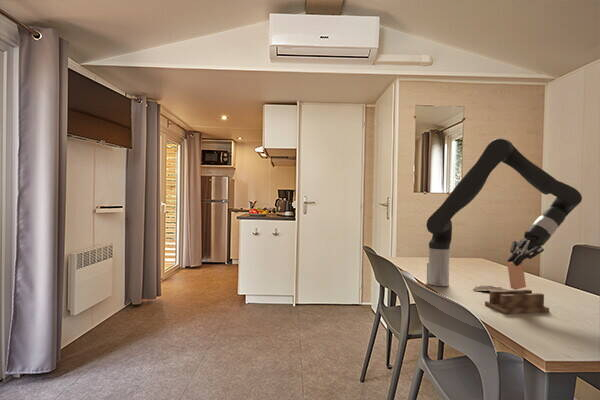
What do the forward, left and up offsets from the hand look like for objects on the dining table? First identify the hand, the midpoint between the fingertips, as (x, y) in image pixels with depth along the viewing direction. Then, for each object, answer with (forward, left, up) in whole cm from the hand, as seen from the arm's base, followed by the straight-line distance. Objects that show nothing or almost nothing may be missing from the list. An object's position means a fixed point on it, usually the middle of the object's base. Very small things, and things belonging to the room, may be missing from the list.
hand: (512, 263), depth 139 cm
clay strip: (+1, +3, -9) cm, 10 cm away
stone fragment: (-16, +19, -18) cm, 30 cm away
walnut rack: (+1, +2, -17) cm, 17 cm away
